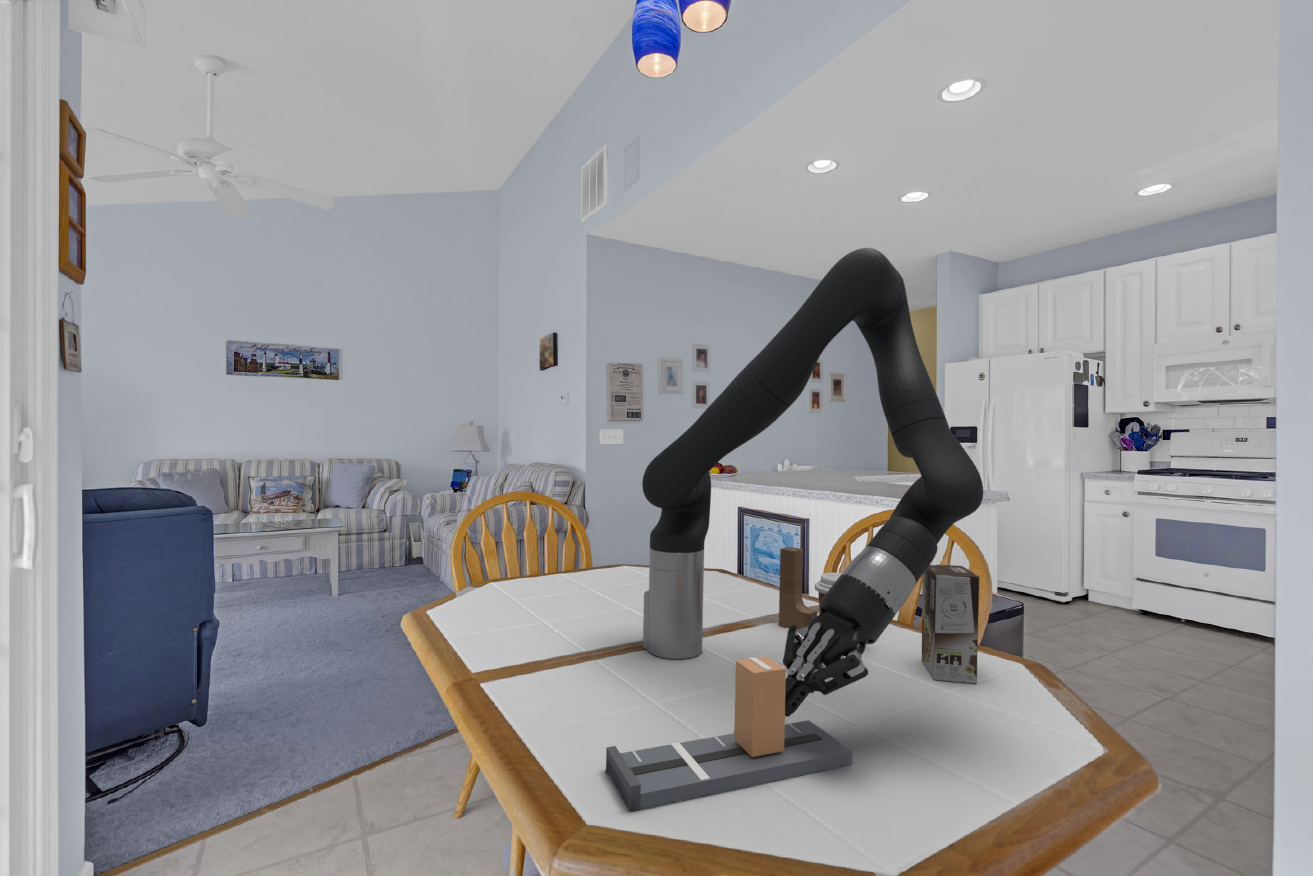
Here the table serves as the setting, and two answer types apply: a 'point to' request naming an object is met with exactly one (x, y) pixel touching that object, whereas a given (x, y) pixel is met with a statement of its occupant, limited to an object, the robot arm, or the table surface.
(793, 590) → the wooden block
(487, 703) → the table surface
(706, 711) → the table surface
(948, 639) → the coffee box
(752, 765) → the fader rail
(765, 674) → the fader tab
